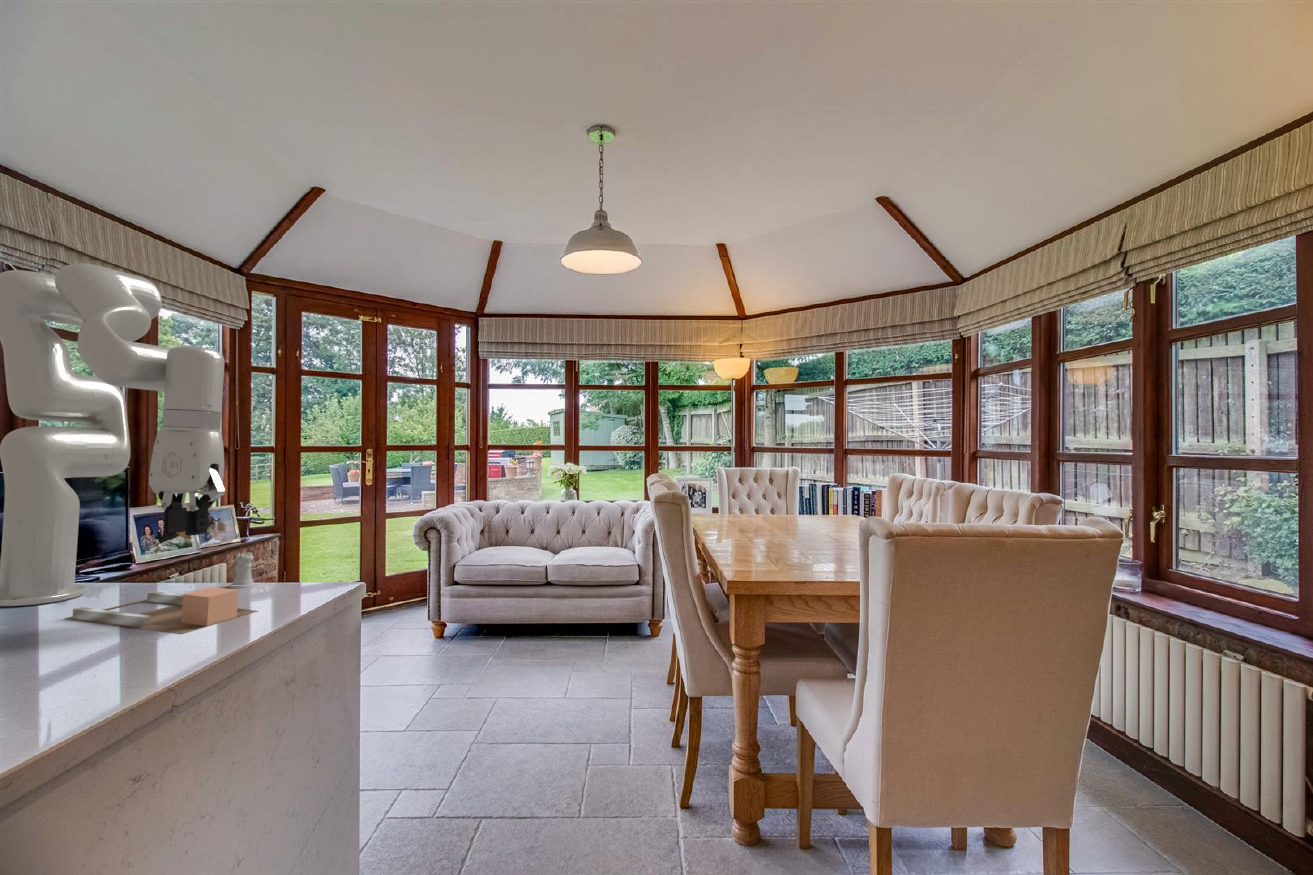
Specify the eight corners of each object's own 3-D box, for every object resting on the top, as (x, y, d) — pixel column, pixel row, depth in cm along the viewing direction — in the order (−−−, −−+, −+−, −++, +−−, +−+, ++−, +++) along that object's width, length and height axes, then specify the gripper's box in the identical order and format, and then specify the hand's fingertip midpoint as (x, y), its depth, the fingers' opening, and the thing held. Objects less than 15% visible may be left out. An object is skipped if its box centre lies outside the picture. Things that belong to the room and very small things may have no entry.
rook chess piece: (261, 591, 116) (263, 552, 116) (243, 597, 111) (245, 556, 111) (241, 590, 116) (243, 550, 116) (222, 595, 112) (224, 554, 112)
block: (181, 622, 90) (183, 594, 90) (211, 614, 95) (213, 587, 95) (207, 625, 89) (209, 597, 89) (236, 617, 94) (238, 589, 94)
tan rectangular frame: (63, 627, 90) (64, 608, 90) (151, 606, 102) (152, 590, 103) (180, 644, 85) (182, 623, 85) (258, 619, 98) (259, 602, 98)
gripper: (127, 419, 92) (119, 533, 92) (211, 422, 89) (204, 540, 88) (175, 422, 99) (168, 527, 99) (254, 425, 96) (247, 534, 96)
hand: (185, 532), depth 94 cm, fingers open, 3 cm apart
